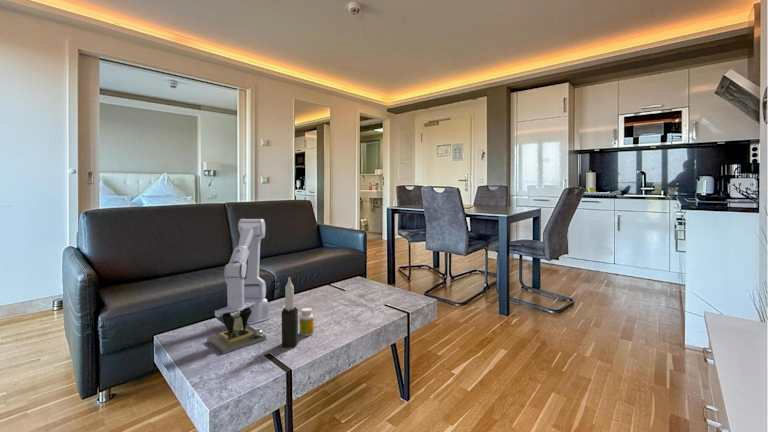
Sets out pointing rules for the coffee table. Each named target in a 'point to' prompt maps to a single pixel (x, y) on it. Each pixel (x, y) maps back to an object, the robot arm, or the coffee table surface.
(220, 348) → the square peg board
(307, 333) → the supplement bottle
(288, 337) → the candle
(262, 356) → the coffee table surface
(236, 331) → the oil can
